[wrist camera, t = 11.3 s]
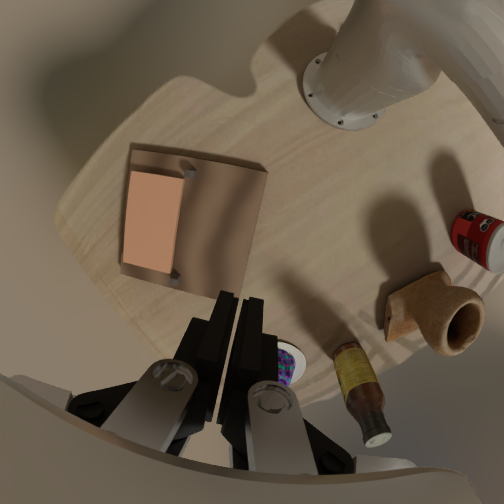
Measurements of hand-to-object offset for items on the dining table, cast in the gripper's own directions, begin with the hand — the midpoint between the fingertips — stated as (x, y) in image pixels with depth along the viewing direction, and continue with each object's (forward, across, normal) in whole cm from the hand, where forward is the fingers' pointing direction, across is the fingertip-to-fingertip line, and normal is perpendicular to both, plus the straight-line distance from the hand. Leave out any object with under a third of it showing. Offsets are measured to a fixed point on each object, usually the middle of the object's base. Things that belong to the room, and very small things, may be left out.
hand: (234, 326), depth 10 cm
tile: (+26, +15, +5) cm, 31 cm away
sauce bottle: (+29, -22, +22) cm, 43 cm away
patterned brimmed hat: (+30, -9, +27) cm, 41 cm away
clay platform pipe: (+29, -30, +8) cm, 43 cm away
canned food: (+29, -36, -6) cm, 47 cm away
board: (+29, +10, +5) cm, 31 cm away
